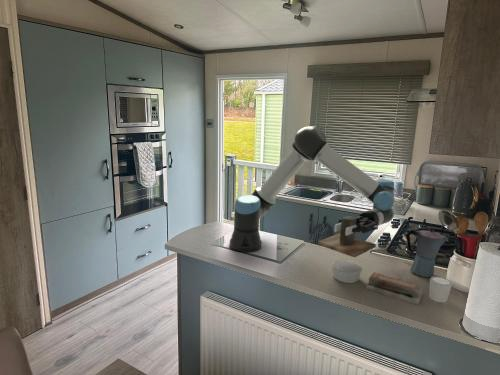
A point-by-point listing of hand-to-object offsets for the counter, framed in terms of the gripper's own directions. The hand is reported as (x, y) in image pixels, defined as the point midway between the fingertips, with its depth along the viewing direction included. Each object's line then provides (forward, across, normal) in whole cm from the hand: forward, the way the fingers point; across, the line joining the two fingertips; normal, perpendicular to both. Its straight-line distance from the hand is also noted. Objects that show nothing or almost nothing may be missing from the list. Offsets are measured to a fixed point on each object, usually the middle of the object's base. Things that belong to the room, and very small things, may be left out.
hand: (340, 230), depth 128 cm
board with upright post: (-5, 0, -8) cm, 9 cm away
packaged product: (-10, -18, -21) cm, 30 cm away
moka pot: (-34, -19, -21) cm, 44 cm away
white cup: (-17, -31, -21) cm, 41 cm away
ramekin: (-5, -1, -21) cm, 22 cm away
